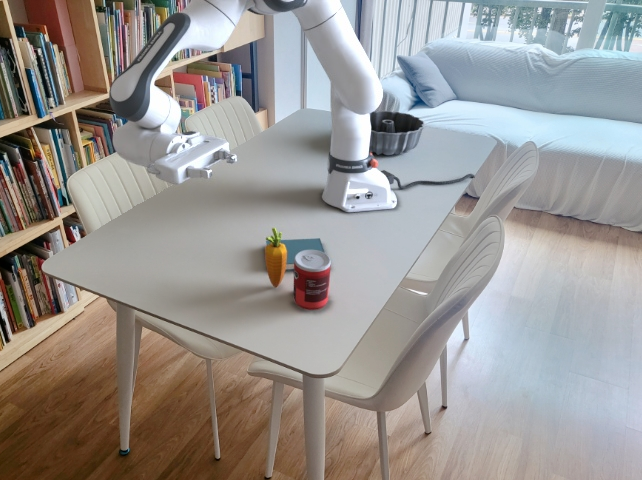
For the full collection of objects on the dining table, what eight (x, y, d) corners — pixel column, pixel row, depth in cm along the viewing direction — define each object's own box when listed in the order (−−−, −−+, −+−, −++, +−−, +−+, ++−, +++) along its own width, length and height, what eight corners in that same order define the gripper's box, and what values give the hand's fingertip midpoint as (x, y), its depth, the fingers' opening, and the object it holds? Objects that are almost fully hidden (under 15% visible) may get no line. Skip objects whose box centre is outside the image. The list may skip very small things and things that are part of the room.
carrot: (284, 294, 118) (284, 237, 110) (262, 292, 119) (261, 235, 110) (288, 282, 122) (289, 226, 114) (267, 279, 123) (267, 224, 114)
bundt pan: (334, 145, 195) (336, 119, 190) (379, 130, 210) (382, 105, 204) (390, 167, 180) (394, 139, 174) (434, 149, 194) (439, 122, 189)
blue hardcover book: (319, 245, 136) (320, 238, 135) (327, 268, 127) (327, 261, 126) (266, 247, 135) (266, 240, 133) (269, 271, 126) (269, 264, 124)
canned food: (304, 285, 121) (306, 245, 115) (334, 298, 117) (338, 257, 111) (286, 302, 116) (286, 260, 110) (316, 315, 112) (318, 273, 106)
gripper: (139, 155, 110) (191, 169, 105) (198, 128, 125) (247, 138, 120) (143, 183, 114) (194, 197, 108) (200, 153, 129) (248, 164, 123)
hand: (222, 166), depth 114 cm, fingers open, 8 cm apart
